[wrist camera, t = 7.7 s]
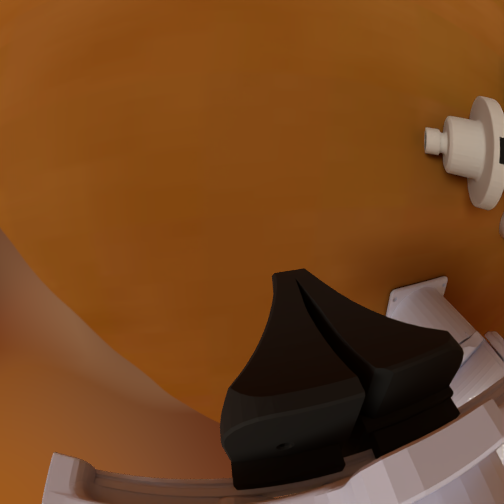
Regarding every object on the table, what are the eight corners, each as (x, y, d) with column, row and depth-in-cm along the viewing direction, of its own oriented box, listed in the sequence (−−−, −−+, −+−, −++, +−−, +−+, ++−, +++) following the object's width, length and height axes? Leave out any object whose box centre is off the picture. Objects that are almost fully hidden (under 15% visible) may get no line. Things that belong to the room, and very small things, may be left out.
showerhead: (481, 202, 20) (514, 223, 12) (419, 190, 24) (426, 204, 15) (484, 112, 17) (516, 91, 9) (420, 99, 20) (426, 69, 12)
